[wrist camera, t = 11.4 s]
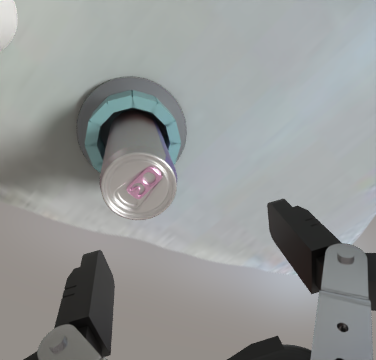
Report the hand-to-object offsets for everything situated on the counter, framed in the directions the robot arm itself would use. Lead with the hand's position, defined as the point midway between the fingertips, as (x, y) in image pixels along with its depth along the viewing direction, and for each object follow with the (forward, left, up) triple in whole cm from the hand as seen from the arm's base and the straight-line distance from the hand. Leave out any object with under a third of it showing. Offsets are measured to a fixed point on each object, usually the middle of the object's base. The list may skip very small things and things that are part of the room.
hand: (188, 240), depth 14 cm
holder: (+1, -3, -25) cm, 25 cm away
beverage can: (+1, -2, -24) cm, 24 cm away
